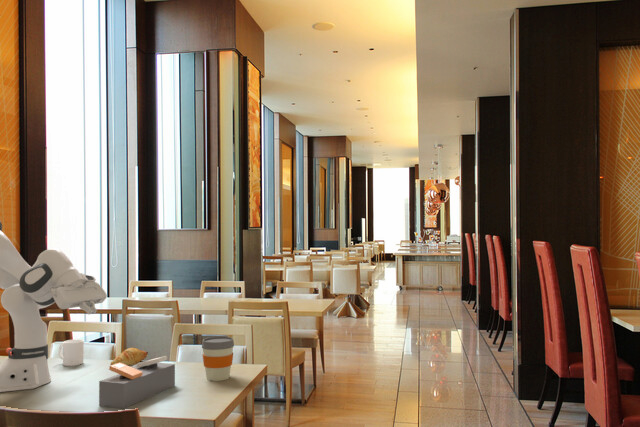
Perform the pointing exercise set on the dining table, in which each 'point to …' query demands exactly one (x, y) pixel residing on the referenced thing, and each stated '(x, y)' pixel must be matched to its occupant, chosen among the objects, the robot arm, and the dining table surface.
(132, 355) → the croissant
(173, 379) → the block
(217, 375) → the reusable coffee cup
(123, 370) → the rocker orange
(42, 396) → the dining table surface
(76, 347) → the cup
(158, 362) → the rocker grey
